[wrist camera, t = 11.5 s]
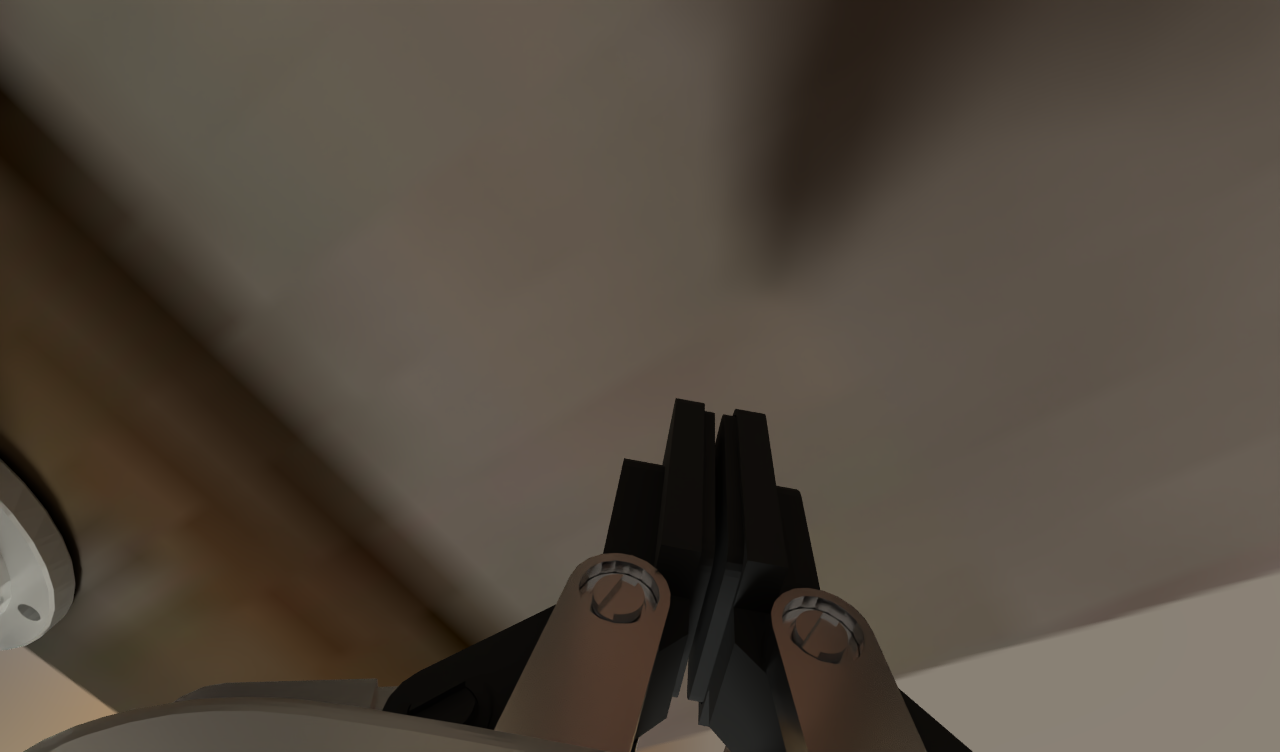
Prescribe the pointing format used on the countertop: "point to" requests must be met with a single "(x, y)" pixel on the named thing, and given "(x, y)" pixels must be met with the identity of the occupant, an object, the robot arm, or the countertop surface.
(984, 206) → the countertop surface
